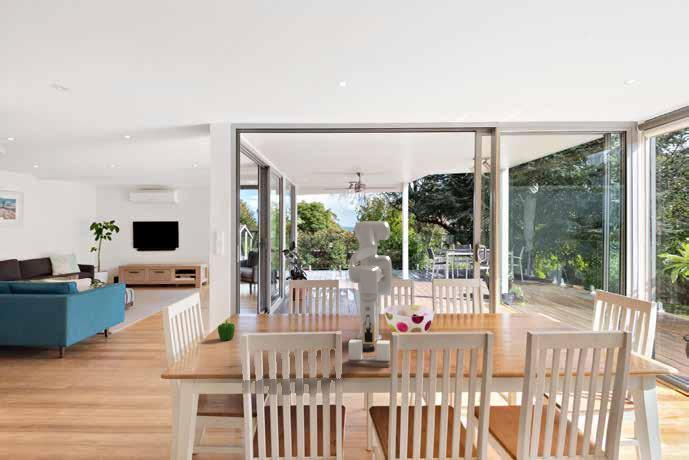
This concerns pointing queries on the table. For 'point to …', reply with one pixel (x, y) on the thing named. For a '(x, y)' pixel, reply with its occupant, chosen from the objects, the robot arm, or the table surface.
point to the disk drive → (365, 346)
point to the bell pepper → (226, 331)
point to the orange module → (373, 335)
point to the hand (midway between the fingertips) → (369, 339)
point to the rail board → (369, 361)
